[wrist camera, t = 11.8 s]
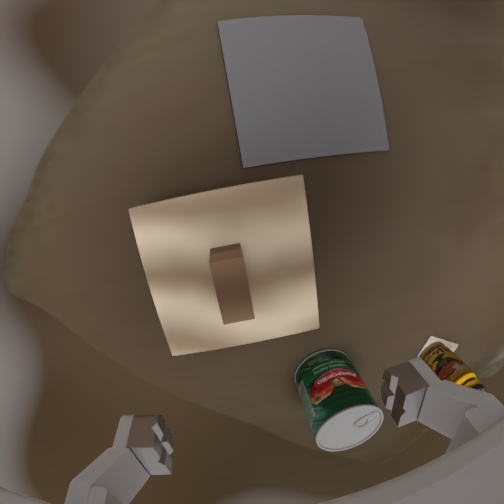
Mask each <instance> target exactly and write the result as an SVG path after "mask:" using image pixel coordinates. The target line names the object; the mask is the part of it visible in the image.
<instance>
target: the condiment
mask: <svg viewBox="0 0 504 504" xmlns="http://www.w3.org/2000/svg"><path fill="white" fill-rule="evenodd" d="M458 345H459V344H456V343H452V342H449V341H446V340H443V339H440V338H436V337H433V336H430V337H429V339H428V341H427V342H426V344H425V345H424V347H423V348H422V350H421V351H420V353H419V354H418V356H417V357H420V358H421V359H422V360H423V361H424V362H425V363H426V364H427V365H428V366H429V367H430V369H431V370H432V371H433V372H434V373H435V374H436V375H437V376H438V378H439V379H440V380H441V381H442V380H447V381H450V382H453V383H456V384H460V385H463V386H466V387H469V388H472V389H476V390H479V391H482V392H484V391H485V390H484V386H483V385H482V384H480V382H479V381H478V380H477V379H476V375H475V373H474V372H473V371H472V370H471V369H470V368H469V367H468V366H467V365H465V363H464V362H463V361H462V360H460V359H459V358H458V357H457V356H456V355H455V354H454V353H453V352H454V351H455V350H456V348H457V346H458Z"/></svg>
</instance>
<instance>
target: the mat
mask: <svg viewBox="0 0 504 504" xmlns="http://www.w3.org/2000/svg"><path fill="white" fill-rule="evenodd" d="M217 24H218V30H219V35H220V41H221V47H222V52H223V58H224V63H225V69H226V74H227V80H228V86H229V91H230V97H231V103H232V108H233V114H234V120H235V125H236V131H237V137H238V142H239V148H240V154H241V160H242V165H243V168H247V167H253V166H259V165H265V164H272V163H278V162H285V161H292V160H299V159H307V158H314V157H323V156H331V155H340V154H350V153H360V152H371V151H384V150H389V144H388V137H387V130H386V123H385V117H384V111H383V105H382V99H381V94H380V89H379V84H378V79H377V74H376V70H375V65H374V61H373V57H372V53H371V49H370V45H369V41H368V37H367V34H366V30H365V27H364V23H363V20H362V18H358V17H345V16H327V15H281V16H263V17H250V18H240V19H231V20H224V21H217Z"/></svg>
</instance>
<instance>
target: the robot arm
mask: <svg viewBox="0 0 504 504" xmlns="http://www.w3.org/2000/svg"><path fill="white" fill-rule="evenodd" d="M382 378H383V380H384V383H383V384H382V385H381V390H380V393H381V399H382V402H383V404H384V406H385V407H386V408H387V409H390V410H392V412H391V417H392V419H393V420H394V422H395V424H396V425H397V427H400V426H403V425H405V424H408V423H410V422H413V421H415V420H417V421H418V422H420V423H422V424H424V425H426V426H428V427H430V428H432V429H433V430H435V431H437V432H439V433H441V434H443V435H445V436H447V437H449V438H451V439H452V441H451V443H450V445H449V447H448V449H447V451H446V452H447V453H446V454H445V455H443V456H441V457H439V458H437V459H435V460H433V461H431V462H429V463H427V464H425V465H423V466H421V467H419V468H417V469H415V470H412V471H410V472H408V473H406V474H403V475H401V476H399V477H396V478H394V479H392V480H389V481H387V482H384V483H382V484H379V485H376V486H373V487H371V488H368V489H365V490H362V491H359V492H356V493H353V494H350V495H347V496H344V497H340V498H337V499H334V500H330V501H326V502H322V503H318V504H504V406H503V405H502V404H501V403H500V402H499V401H498V400H497V399H496V398H495V397H494V396H493V395H492V394H489V393H485V392H482V391H479V390H476V389H472V388H469V387H466V386H463V385H460V384H456V383H453V382H450V381H447V380H442V381H441V380H440V379H439V378H438V376H437V375H436V374H435V373H434V372H433V371H432V370H431V369H430V367H429V366H428V365H427V364H426V363H425V362H424V361H423V360H422V359H421V358H420V357H417V358H415V359H412V360H409V361H407V362H404V363H401V364H399V365H396V366H393V367H390V368H388V369H385V370H384V371H383V375H382ZM164 425H165V420H164V418H163V417H162V415H135V416H122V417H121V419H120V422H119V426H118V429H117V433H116V436H115V440H114V443H113V447H112V448H108V449H107V450H106V451H105V452H104V453H103V454H101V455H100V456H99V457H98V458H97V459H96V460H95V461H94V462H93V463H91V464H90V465H89V466H88V467H87V468H86V469H85V470H83V471H82V472H81V473H80V474H79V475H78V476H76V477H75V478H74V479H73V480H72V481H71V483H70V486H69V489H68V493H67V496H66V500H65V503H64V504H129V503H130V502H131V500H132V499H133V498H134V497H135V495H136V494H137V493H138V491H139V490H140V489H141V488H142V486H143V485H144V484H145V482H146V481H147V480H148V478H149V477H150V475H162V474H171V473H172V459H171V457H170V454H171V453H172V452H173V450H174V449H173V448H174V442H173V436H172V433H171V431H170V429H169V428H167V427H166V426H164ZM0 504H51V503H47V502H44V501H40V500H37V499H34V498H31V497H28V496H25V495H21V494H19V493H16V492H13V491H10V490H8V489H5V488H3V487H0Z"/></svg>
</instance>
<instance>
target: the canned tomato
mask: <svg viewBox="0 0 504 504" xmlns="http://www.w3.org/2000/svg"><path fill="white" fill-rule="evenodd" d="M294 378H295V383H296V386H297V388H298V391H299V394H300V397H301V400H302V403H303V405H304V408H305V411H306V414H307V417H308V419H309V422H310V426H311V428H312V431H313V434H314V436H315V439H316V443H317V445H318V446H319V447H320V448H321V449H323V450H327V451H342V450H346V449H350V448H353V447H355V446H357V445H359V444H361V443H363V442H365V441H366V440H368V439H369V438H370V437H371V436H373V435H374V434H375V433H376V431H377V430H378V429H379V428H380V426H381V424H382V422H383V412H382V410H381V409H380V408H379V406H378V405H377V403H376V401H375V400H374V398H373V396H372V395H371V393H370V391H369V390H368V388H367V387H366V385H365V383H364V382H363V380H362V379H361V377H360V375H359V374H358V372H357V371H356V369H355V367H354V366H353V364H352V363H351V361H350V359H349V357H348V356H347V355H346V354H345V353H344V352H342V351H340V350H337V349H325V350H320V351H317V352H315V353H313V354H311V355H309V356H308V357H307V358H305V359H304V360H303V361H302V362H301V363H300V364H299V366H298V367H297V369H296V372H295V376H294Z"/></svg>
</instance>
